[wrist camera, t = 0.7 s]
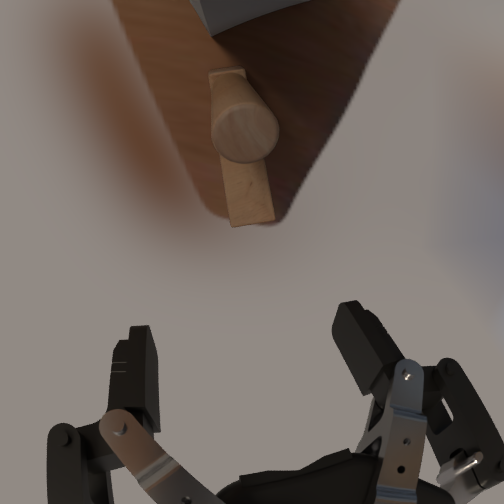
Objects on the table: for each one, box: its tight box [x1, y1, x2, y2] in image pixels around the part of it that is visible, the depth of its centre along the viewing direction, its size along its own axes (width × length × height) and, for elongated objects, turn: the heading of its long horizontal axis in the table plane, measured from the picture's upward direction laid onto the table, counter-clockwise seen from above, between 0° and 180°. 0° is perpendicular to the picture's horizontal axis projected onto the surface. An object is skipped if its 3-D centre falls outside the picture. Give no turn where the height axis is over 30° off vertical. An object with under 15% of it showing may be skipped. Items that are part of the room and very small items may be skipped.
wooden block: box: [208, 66, 280, 227], centre depth 23 cm, size 4×11×18 cm, turn 7°
